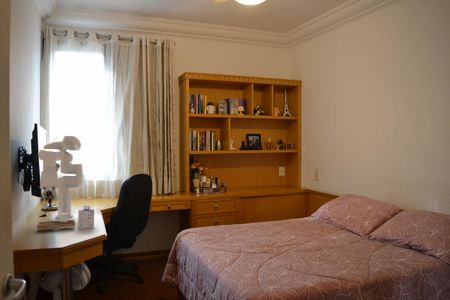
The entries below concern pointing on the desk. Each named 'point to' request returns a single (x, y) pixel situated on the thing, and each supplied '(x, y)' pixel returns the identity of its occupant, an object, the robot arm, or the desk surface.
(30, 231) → the desk surface
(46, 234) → the desk surface
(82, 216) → the ink cartridge box
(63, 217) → the rider
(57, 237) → the desk surface
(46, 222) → the beam
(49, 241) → the desk surface
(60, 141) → the robot arm
